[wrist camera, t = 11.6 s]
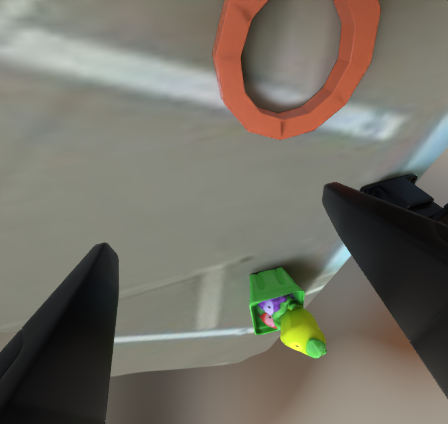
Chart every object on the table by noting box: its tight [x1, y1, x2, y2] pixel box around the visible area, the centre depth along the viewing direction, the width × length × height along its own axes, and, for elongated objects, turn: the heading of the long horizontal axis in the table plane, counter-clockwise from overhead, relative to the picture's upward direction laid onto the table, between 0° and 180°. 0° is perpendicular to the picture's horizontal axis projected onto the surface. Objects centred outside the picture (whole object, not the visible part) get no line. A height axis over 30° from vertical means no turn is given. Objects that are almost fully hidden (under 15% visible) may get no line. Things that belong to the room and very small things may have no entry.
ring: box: [212, 0, 381, 140], centre depth 16 cm, size 11×11×2 cm
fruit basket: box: [250, 267, 327, 358], centre depth 33 cm, size 11×9×11 cm
